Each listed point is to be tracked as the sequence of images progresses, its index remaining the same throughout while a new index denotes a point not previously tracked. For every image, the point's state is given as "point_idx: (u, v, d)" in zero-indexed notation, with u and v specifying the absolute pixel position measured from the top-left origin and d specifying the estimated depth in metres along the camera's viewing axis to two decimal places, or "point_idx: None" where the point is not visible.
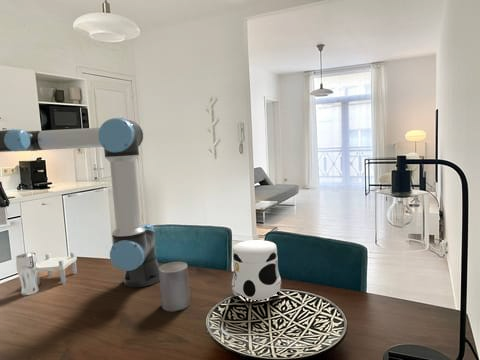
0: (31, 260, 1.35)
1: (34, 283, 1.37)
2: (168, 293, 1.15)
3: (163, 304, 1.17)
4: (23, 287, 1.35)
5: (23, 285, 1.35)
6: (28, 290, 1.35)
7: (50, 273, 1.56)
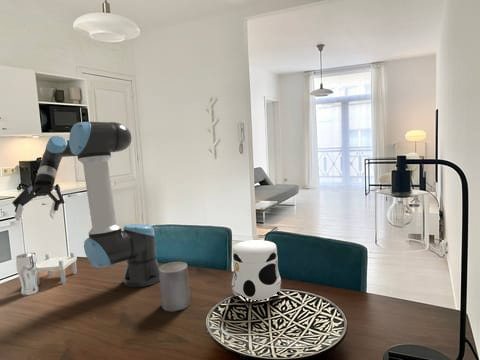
0: (31, 260, 1.35)
1: (34, 283, 1.37)
2: (168, 293, 1.15)
3: (163, 304, 1.17)
4: (23, 287, 1.35)
5: (23, 285, 1.35)
6: (28, 290, 1.35)
7: (50, 273, 1.56)
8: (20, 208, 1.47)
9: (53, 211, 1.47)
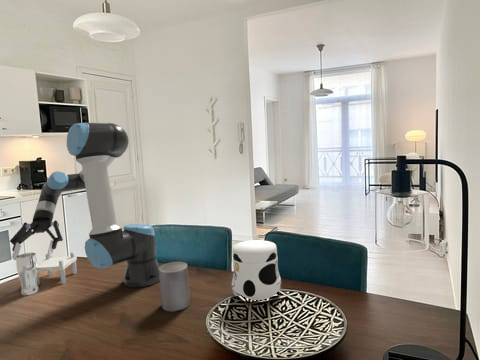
0: (31, 260, 1.35)
1: (34, 283, 1.37)
2: (168, 293, 1.15)
3: (163, 304, 1.17)
4: (23, 287, 1.35)
5: (23, 285, 1.35)
6: (28, 290, 1.35)
7: (50, 273, 1.56)
8: (18, 247, 1.45)
9: (51, 250, 1.45)
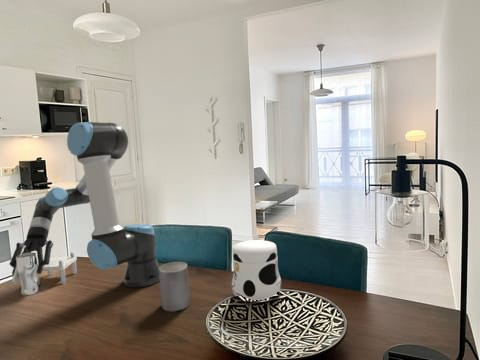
0: (31, 260, 1.35)
1: (34, 283, 1.37)
2: (168, 293, 1.15)
3: (163, 304, 1.17)
4: (23, 287, 1.35)
5: (23, 285, 1.35)
6: (28, 290, 1.35)
7: (50, 273, 1.56)
8: None
9: (36, 275, 1.36)
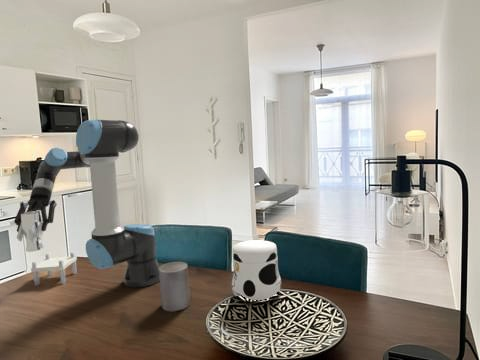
0: (36, 217, 1.38)
1: (39, 240, 1.40)
2: (168, 293, 1.15)
3: (163, 304, 1.17)
4: (28, 244, 1.38)
5: (28, 242, 1.38)
6: (33, 246, 1.38)
7: (50, 273, 1.56)
8: None
9: (40, 232, 1.38)
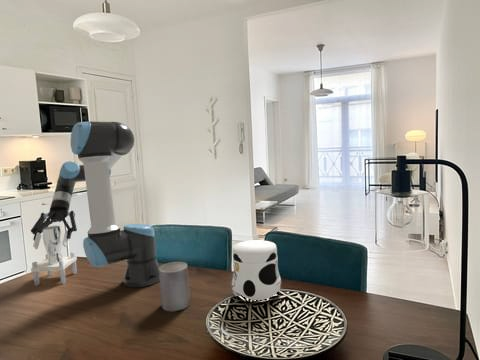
0: (56, 232, 1.47)
1: (59, 253, 1.49)
2: (168, 293, 1.15)
3: (163, 304, 1.17)
4: (49, 257, 1.48)
5: (49, 255, 1.48)
6: (53, 259, 1.48)
7: (50, 273, 1.56)
8: (38, 236, 1.49)
9: (66, 239, 1.49)
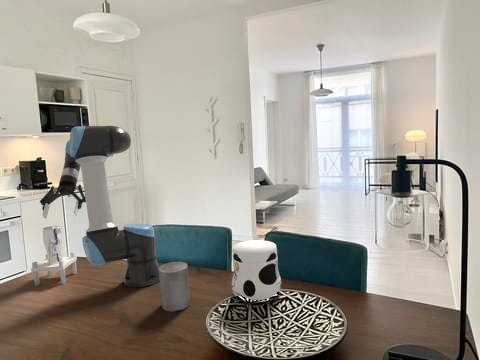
0: (56, 232, 1.47)
1: (59, 253, 1.49)
2: (168, 293, 1.15)
3: (163, 304, 1.17)
4: (49, 257, 1.48)
5: (49, 255, 1.48)
6: (53, 259, 1.48)
7: (50, 273, 1.56)
8: (47, 206, 1.61)
9: (77, 209, 1.61)
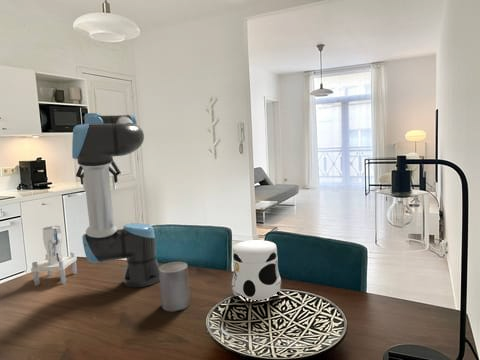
0: (56, 232, 1.47)
1: (59, 253, 1.49)
2: (168, 293, 1.15)
3: (163, 304, 1.17)
4: (49, 257, 1.48)
5: (49, 255, 1.48)
6: (53, 259, 1.48)
7: (50, 273, 1.56)
8: (85, 181, 1.68)
9: (114, 184, 1.70)
